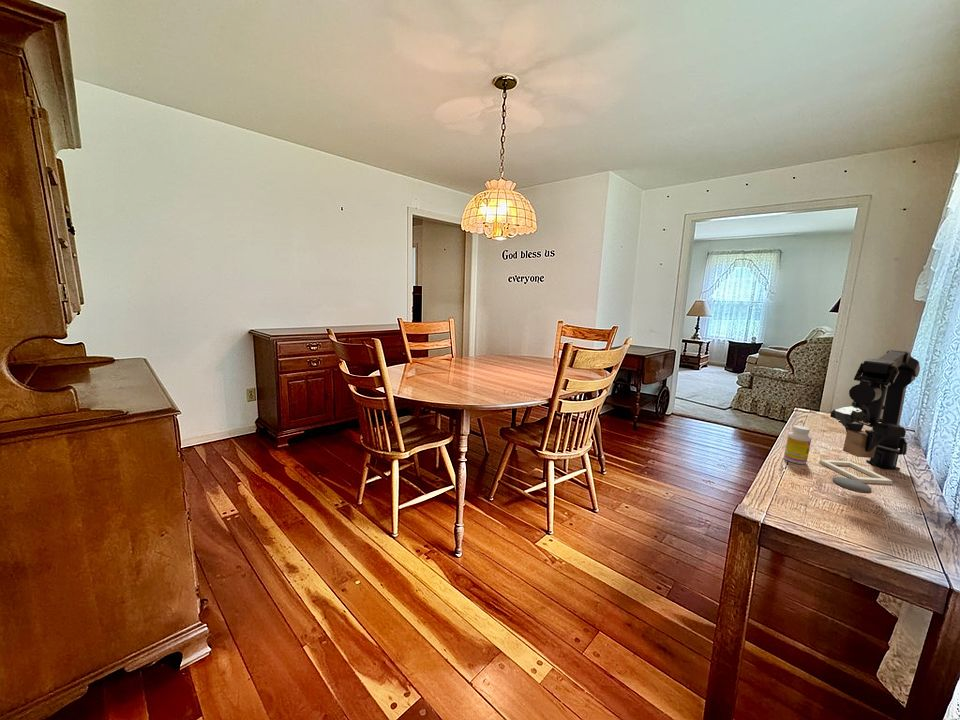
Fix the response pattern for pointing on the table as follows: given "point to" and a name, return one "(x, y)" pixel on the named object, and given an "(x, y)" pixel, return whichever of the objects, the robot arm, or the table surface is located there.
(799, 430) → the supplement bottle
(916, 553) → the table surface
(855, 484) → the coaster
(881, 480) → the pocket frame
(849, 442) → the block
